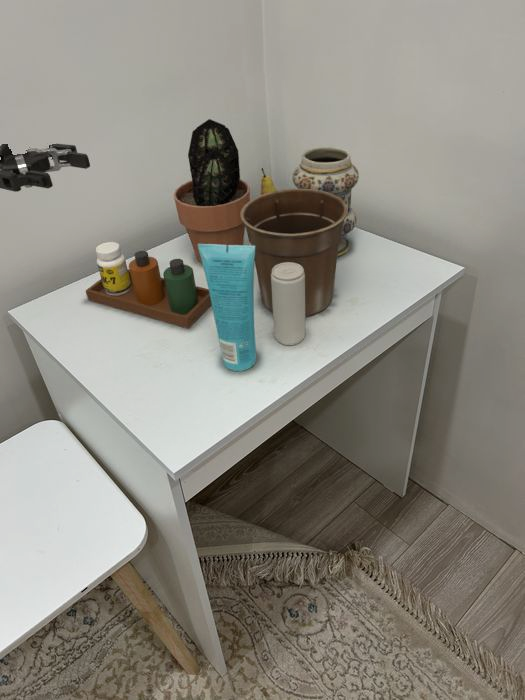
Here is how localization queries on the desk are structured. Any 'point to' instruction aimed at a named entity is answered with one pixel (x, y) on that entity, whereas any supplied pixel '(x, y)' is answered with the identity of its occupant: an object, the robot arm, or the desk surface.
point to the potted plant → (213, 189)
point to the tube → (232, 300)
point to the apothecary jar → (330, 180)
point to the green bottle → (180, 287)
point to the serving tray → (152, 311)
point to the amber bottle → (146, 279)
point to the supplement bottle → (113, 269)
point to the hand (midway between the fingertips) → (69, 171)
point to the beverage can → (288, 302)
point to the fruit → (267, 184)
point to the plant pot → (296, 240)
